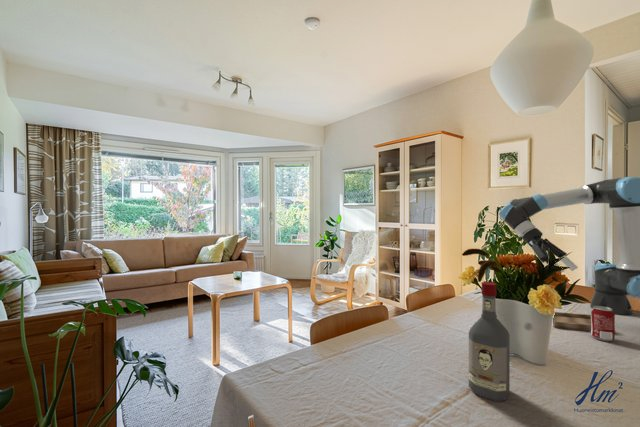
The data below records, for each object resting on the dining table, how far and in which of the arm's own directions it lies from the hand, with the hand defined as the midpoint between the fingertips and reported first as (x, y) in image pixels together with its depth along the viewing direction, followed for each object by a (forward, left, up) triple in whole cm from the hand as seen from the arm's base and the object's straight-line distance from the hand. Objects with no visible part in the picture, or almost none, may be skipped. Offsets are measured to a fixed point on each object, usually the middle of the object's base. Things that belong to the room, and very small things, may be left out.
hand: (568, 271), depth 126 cm
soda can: (-8, +7, -25) cm, 27 cm away
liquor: (+41, +58, -25) cm, 75 cm away
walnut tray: (-5, -8, -25) cm, 26 cm away
